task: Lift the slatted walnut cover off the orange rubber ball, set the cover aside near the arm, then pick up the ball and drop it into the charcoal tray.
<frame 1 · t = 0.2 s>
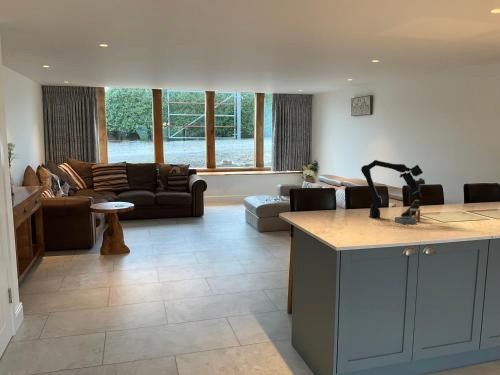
hand: (421, 199, 291), 15 cm above the countertop, tool tilted 30°, fingers open, 9 cm apart
ball: (414, 217, 291), point 2 cm above the countertop
cover: (414, 220, 291), on the countertop
sculpture: (410, 217, 306), on the countertop
tray: (405, 222, 284), on the countertop
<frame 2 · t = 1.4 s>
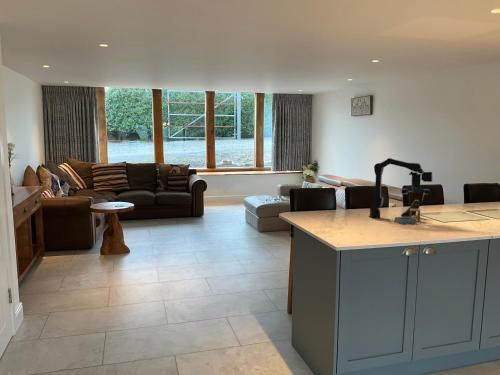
hand: (415, 203, 290), 12 cm above the countertop, tool pointing down, fingers open, 9 cm apart
nothing on the countertop moved.
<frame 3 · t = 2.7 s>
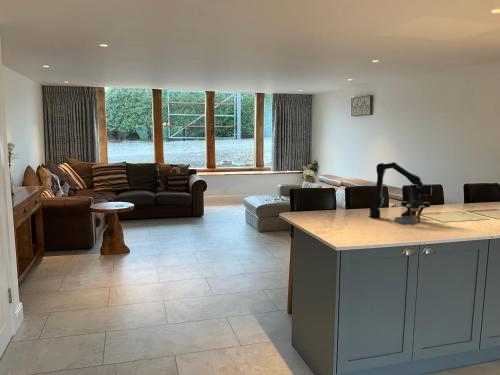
hand: (414, 216, 291), 3 cm above the countertop, tool pointing down, fingers closed on cover, 6 cm apart
cover: (414, 220, 291), on the countertop, touching gripper
everything else where it was.
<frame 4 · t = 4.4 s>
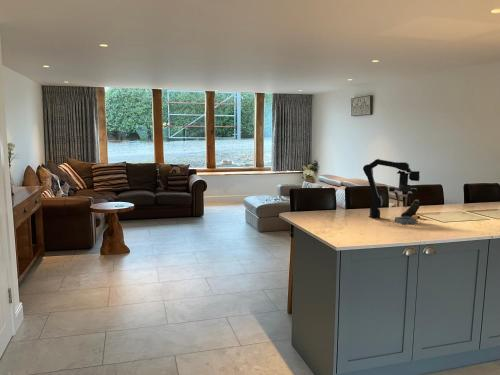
hand: (402, 202, 295), 12 cm above the countertop, tool pointing down, fingers closed on cover, 6 cm apart
cover: (401, 206, 295), point 9 cm above the countertop, touching gripper
everything else where it was.
when the fingers open (4 cm above the countertop, at t = 6.4 s): cover stays where it is, on the countertop.
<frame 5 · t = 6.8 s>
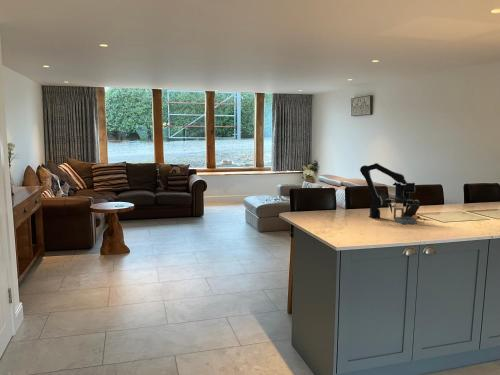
hand: (398, 213, 297), 4 cm above the countertop, tool pointing down, fingers open, 9 cm apart
cover: (398, 219, 297), on the countertop
everything else where it was.
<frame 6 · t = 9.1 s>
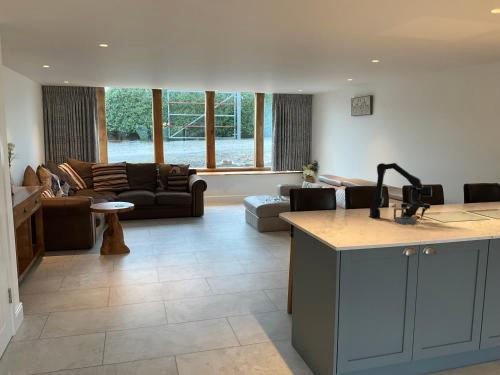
hand: (415, 218, 291), 2 cm above the countertop, tool pointing down, fingers open, 8 cm apart
cover: (398, 219, 297), on the countertop, touching gripper
everything else where it was.
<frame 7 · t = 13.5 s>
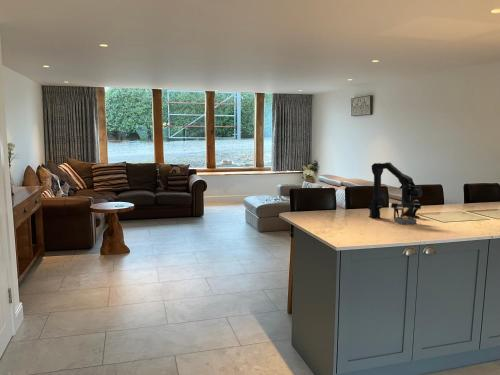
hand: (405, 218, 284), 3 cm above the countertop, tool pointing down, fingers open, 9 cm apart
ball: (405, 219, 284), point 2 cm above the countertop, touching tray
cover: (398, 219, 297), on the countertop
everything else where it was.
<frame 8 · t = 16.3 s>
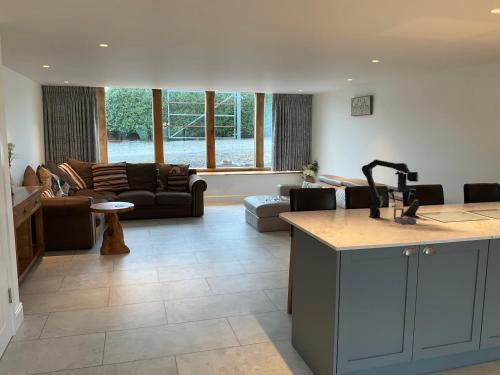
hand: (401, 203, 293), 12 cm above the countertop, tool pointing down, fingers open, 9 cm apart
nothing on the countertop moved.
at the end: ball inside the target area on the tray (0.1 cm from its centre), point 2.5 cm above the tray's base; the gripper is holding nothing; cover moved 11.0 cm from its start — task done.
